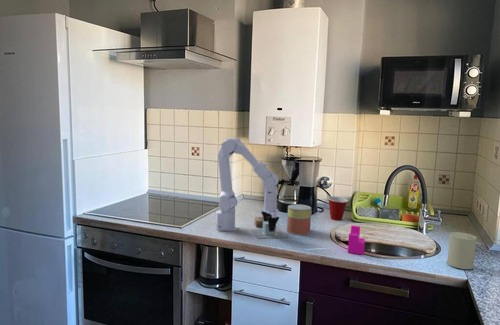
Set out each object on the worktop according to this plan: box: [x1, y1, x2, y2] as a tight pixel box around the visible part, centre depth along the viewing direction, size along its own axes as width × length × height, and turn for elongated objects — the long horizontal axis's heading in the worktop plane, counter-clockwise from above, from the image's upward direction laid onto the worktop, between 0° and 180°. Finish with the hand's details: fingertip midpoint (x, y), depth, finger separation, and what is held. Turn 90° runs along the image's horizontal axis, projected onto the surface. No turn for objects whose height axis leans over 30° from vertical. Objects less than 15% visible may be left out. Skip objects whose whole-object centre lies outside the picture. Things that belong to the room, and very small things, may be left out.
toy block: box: [347, 224, 366, 256], centre depth 162 cm, size 15×6×8 cm, turn 161°
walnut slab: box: [254, 216, 264, 228], centre depth 190 cm, size 7×7×4 cm
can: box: [446, 231, 478, 270], centre depth 145 cm, size 9×9×12 cm
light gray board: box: [251, 227, 289, 240], centre depth 178 cm, size 14×14×1 cm
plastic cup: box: [327, 196, 349, 222], centre depth 203 cm, size 11×11×12 cm
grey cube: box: [262, 221, 277, 235], centre depth 177 cm, size 5×5×5 cm
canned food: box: [286, 203, 312, 236], centre depth 181 cm, size 11×11×12 cm
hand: (269, 228), depth 177 cm, fingers open, 7 cm apart
